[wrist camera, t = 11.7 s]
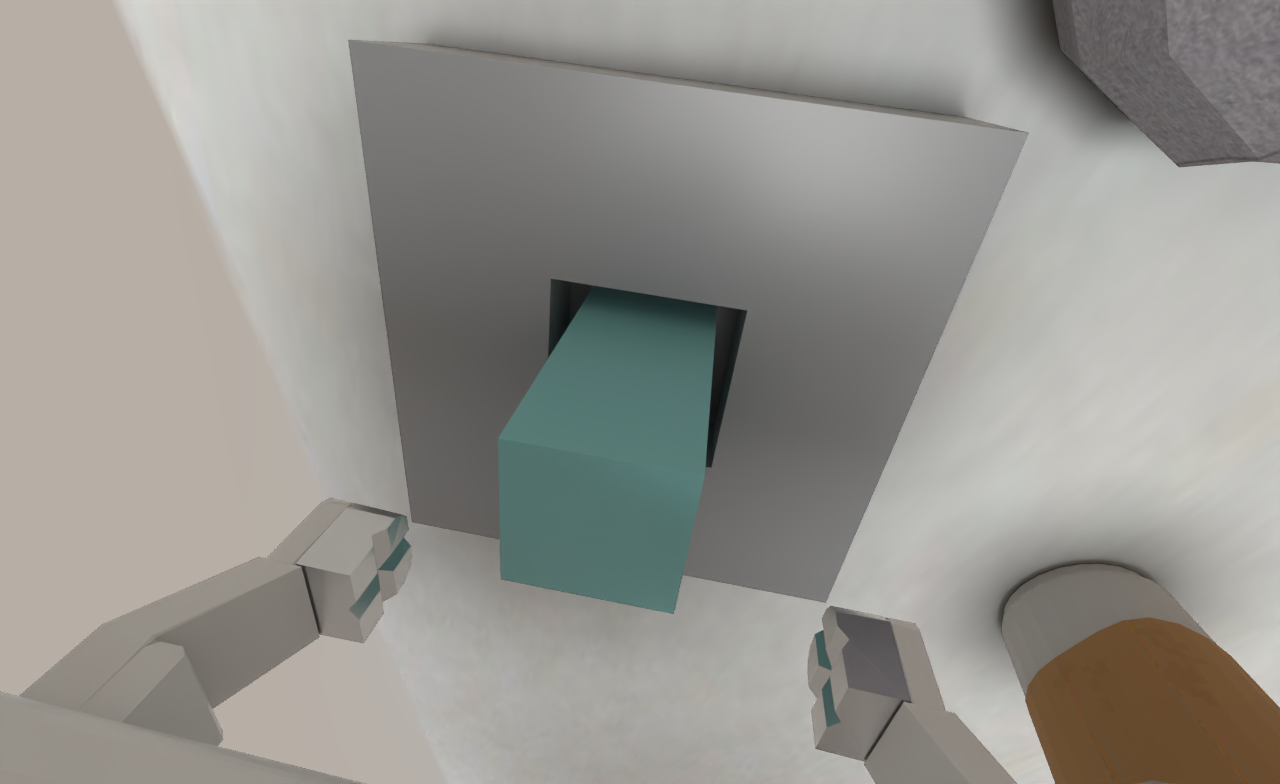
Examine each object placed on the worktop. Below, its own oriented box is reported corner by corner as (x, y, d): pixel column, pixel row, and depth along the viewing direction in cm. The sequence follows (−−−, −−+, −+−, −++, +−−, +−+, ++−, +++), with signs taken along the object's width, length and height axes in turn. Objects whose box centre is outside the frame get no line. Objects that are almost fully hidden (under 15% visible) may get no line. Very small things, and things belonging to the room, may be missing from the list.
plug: (696, 404, 20) (673, 614, 13) (588, 385, 21) (500, 578, 13) (717, 301, 18) (704, 476, 11) (596, 281, 19) (498, 438, 11)
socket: (813, 526, 24) (825, 602, 21) (455, 459, 25) (412, 521, 22) (966, 117, 16) (1028, 132, 13) (425, 43, 17) (348, 39, 14)
